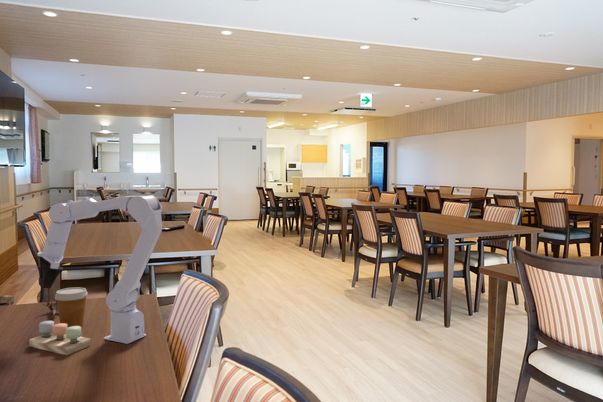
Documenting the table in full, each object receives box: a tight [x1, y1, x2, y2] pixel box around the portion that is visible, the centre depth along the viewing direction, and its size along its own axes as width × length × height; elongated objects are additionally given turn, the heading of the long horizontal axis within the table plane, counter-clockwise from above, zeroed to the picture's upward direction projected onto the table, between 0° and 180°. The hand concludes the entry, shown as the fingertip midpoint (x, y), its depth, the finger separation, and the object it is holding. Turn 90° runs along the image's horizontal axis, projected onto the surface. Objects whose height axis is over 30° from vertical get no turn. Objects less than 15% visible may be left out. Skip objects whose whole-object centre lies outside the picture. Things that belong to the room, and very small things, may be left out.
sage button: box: [66, 326, 82, 344], centre depth 128 cm, size 4×4×4 cm
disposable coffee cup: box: [54, 286, 89, 328], centre depth 146 cm, size 10×10×12 cm
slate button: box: [38, 320, 55, 338], centre depth 132 cm, size 4×4×4 cm
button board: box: [28, 332, 92, 356], centre depth 130 cm, size 15×8×2 cm, turn 66°
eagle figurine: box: [41, 297, 58, 316], centre depth 161 cm, size 8×7×9 cm
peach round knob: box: [52, 322, 67, 341], centre depth 130 cm, size 4×4×4 cm
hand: (44, 282), depth 139 cm, fingers open, 7 cm apart
